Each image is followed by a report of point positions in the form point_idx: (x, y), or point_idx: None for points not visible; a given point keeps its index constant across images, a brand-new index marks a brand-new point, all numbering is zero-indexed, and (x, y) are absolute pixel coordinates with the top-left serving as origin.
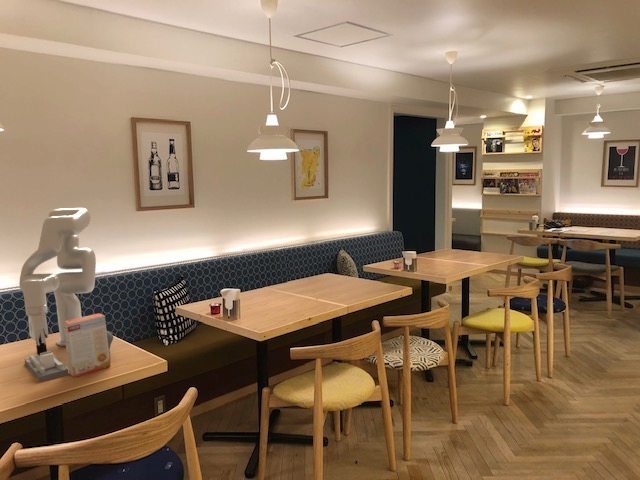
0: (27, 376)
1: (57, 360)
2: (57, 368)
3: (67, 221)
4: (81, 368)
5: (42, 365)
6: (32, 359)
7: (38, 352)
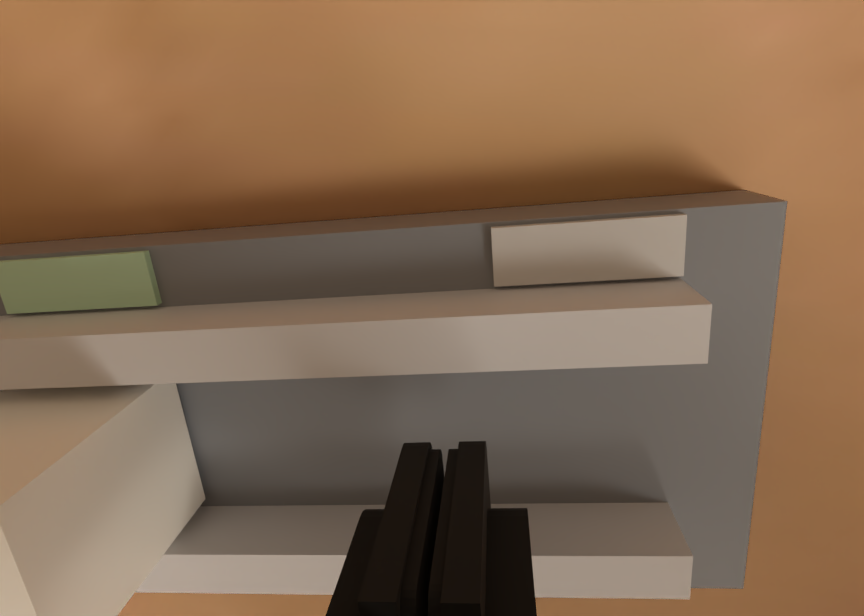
0: (142, 150)
1: None
2: None
3: None
4: None
5: (72, 390)
6: (427, 314)
7: (396, 484)
